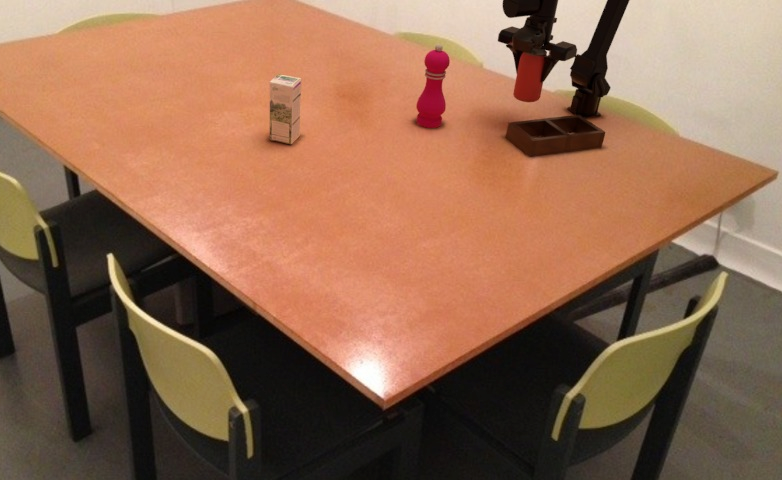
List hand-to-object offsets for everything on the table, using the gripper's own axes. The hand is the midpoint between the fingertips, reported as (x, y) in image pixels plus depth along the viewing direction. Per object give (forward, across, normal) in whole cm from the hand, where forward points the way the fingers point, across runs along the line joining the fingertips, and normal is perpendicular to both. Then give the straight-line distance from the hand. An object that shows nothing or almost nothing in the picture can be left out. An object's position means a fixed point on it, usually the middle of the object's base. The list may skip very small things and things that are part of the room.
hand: (530, 77), depth 189 cm
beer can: (+5, 0, 0) cm, 5 cm away
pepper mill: (+12, -16, -18) cm, 27 cm away
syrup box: (+12, -32, -52) cm, 62 cm away
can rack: (+12, +11, -3) cm, 17 cm away
